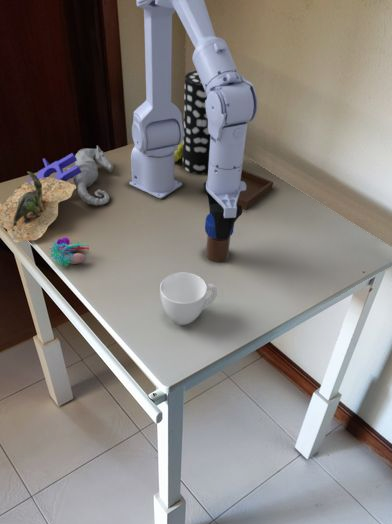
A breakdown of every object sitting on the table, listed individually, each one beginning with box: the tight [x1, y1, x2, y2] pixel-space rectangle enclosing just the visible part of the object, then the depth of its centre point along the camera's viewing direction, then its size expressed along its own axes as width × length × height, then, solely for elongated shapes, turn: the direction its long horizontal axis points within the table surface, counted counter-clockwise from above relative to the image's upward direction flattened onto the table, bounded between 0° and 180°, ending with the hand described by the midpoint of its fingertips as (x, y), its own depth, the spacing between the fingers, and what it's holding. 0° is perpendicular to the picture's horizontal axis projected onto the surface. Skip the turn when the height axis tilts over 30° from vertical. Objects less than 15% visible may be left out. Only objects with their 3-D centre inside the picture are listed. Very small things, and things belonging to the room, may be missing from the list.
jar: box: [205, 234, 231, 263], centre depth 95 cm, size 4×4×7 cm
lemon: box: [174, 140, 183, 163], centre depth 122 cm, size 4×8×4 cm
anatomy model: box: [49, 237, 90, 267], centre depth 93 cm, size 5×8×7 cm
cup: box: [159, 271, 218, 326], centre depth 84 cm, size 8×10×7 cm
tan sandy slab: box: [0, 171, 77, 243], centre depth 100 cm, size 18×14×8 cm
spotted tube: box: [182, 70, 211, 175], centre depth 114 cm, size 8×8×20 cm
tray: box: [236, 168, 274, 210], centre depth 114 cm, size 11×11×2 cm
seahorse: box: [64, 145, 114, 206], centre depth 112 cm, size 5×12×20 cm
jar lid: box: [204, 212, 235, 239], centre depth 93 cm, size 5×5×3 cm
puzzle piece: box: [26, 152, 81, 182], centre depth 108 cm, size 10×12×2 cm
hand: (219, 229), depth 93 cm, fingers closed on jar lid, 5 cm apart
